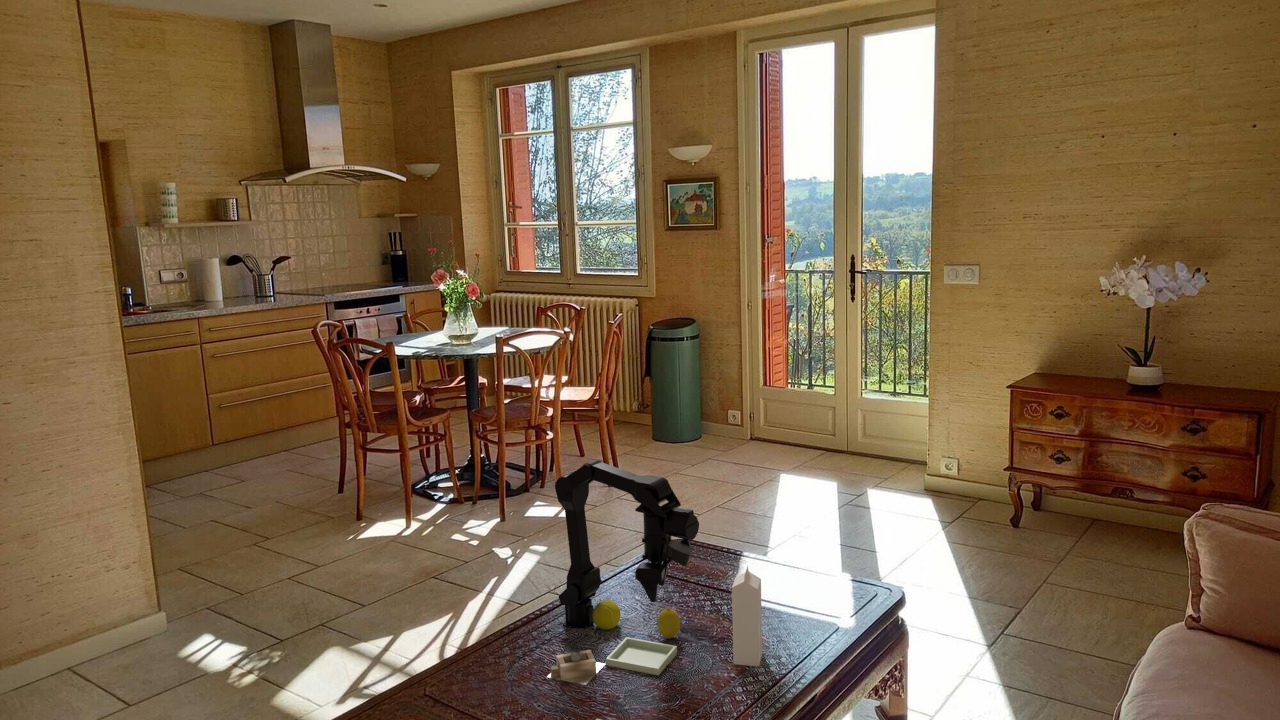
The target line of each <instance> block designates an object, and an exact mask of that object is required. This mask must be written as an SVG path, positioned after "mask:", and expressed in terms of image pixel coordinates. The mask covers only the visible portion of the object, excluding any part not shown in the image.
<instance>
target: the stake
mask: <svg viewBox="0 0 1280 720" xmlns="http://www.w3.org/2000/svg"><path fill="white" fill-rule="evenodd" d="M570 653H571V662H577V661H581V654H580V652H579V650H573V651H572V652H570ZM605 665H606V662H605V663H604V662H598V661H596V673H594V674H588V675H583V676H577V677H572V678H566V679H561V676H560V675H557V676H552V674H551V672H550V673H549V674H548V675H547V676H546V678H549V679H554V680H560V681H564V682H568V683H572V684H578V685H582V686H587V685H588V683H590V681H592V679H594V677H595V676H596V675H597V674H598V673H599V672H600V671H601V670H602V669H603V667H604V666H605Z"/></svg>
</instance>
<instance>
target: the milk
mask: <svg viewBox="0 0 1280 720" xmlns="http://www.w3.org/2000/svg"><path fill="white" fill-rule="evenodd" d="M731 609H732V617H731V618H732V650H733V651H732V652H733V653H732V654H733V655H732V656H733V657H732V658H733V659H732V661H733V665H739V666H750V667H760V665H761V661H762V655H763V634H762V633H763V629H762V628H763V627H762V624H763V621H762V620H763V619H762V579H761V577H759V576H757V575H756V574H754V573H752V572H751V571H749V565H747V567H746V569H745V572H743V573H741V574H739V575H736V576H735V577H734V581H733V583H732V586H731Z"/></svg>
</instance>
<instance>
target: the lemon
mask: <svg viewBox="0 0 1280 720" xmlns="http://www.w3.org/2000/svg"><path fill="white" fill-rule="evenodd" d="M657 628H658V631H659V633H660V635H661V636H662V637H664V638H667V639H668V640H670V639H672V638H674V637H676V636H677V635H678V634H679V631H680V629H681V619H680V615H679V613H678V612H677V611H676V610H674V609H672V608H670V607H666V608H664V609H663V610H661V612H660V613H659V615H658V616H657Z"/></svg>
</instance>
